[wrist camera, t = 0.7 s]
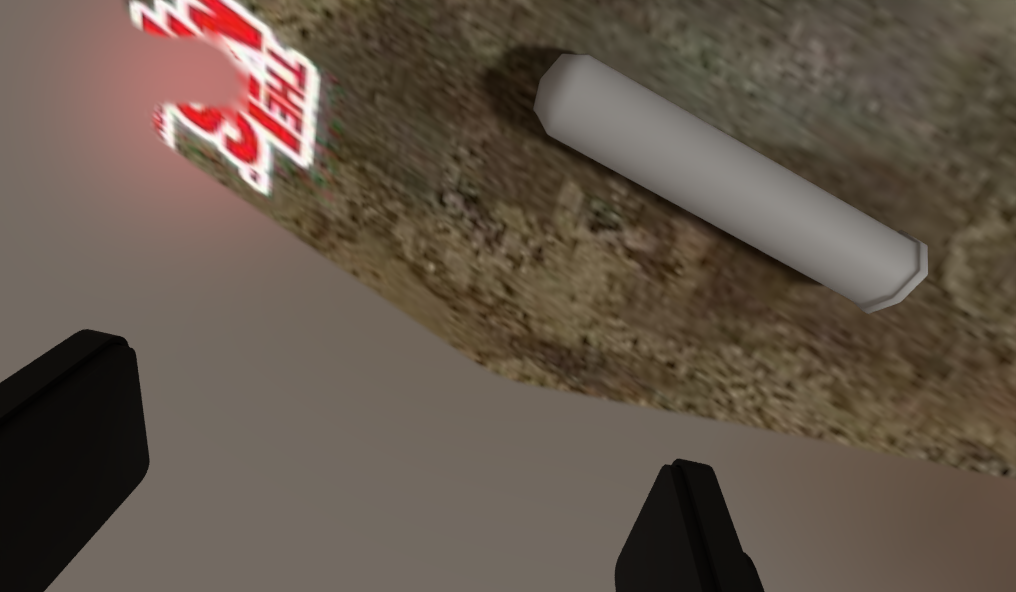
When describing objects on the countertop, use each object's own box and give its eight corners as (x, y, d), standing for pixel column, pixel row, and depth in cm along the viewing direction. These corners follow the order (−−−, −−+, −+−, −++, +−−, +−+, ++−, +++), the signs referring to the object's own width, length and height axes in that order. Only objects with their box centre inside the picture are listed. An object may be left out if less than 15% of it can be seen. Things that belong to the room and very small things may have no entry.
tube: (510, 138, 31) (862, 327, 34) (554, 53, 27) (944, 275, 30) (529, 99, 34) (843, 273, 38) (569, 19, 31) (914, 220, 34)
